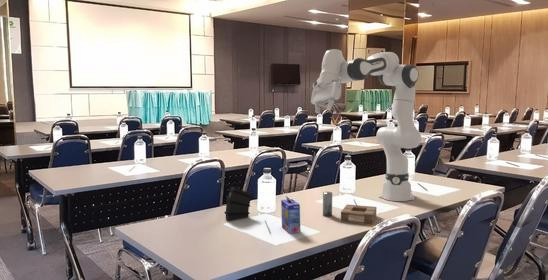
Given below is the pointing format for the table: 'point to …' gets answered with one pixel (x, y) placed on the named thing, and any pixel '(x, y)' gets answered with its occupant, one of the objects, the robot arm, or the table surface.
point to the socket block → (358, 214)
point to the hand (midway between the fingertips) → (322, 111)
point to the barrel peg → (327, 204)
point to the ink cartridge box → (290, 215)
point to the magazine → (237, 204)
